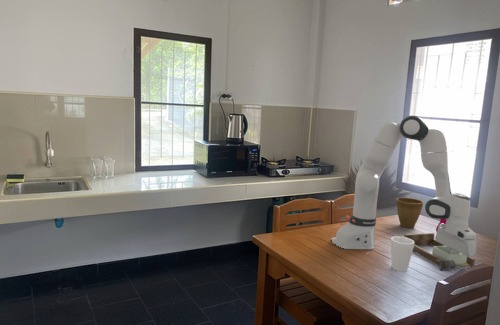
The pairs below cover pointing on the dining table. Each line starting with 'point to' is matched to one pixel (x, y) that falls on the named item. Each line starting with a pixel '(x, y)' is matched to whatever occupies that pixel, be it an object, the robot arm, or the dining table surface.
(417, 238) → the bay
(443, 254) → the crate
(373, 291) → the dining table surface
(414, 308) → the dining table surface
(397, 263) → the foam cup
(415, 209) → the plant pot
